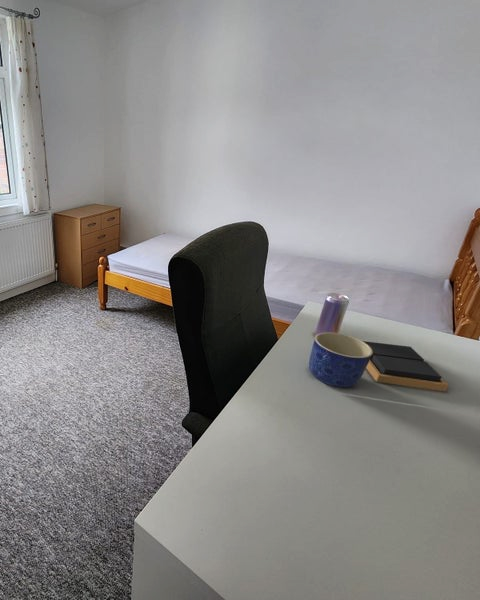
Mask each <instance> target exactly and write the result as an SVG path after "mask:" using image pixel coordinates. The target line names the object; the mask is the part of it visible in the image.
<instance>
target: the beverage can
mask: <svg viewBox="0 0 480 600" xmlns="http://www.w3.org/2000/svg"><path fill="white" fill-rule="evenodd" d="M349 304H350V298H349V297H348V296H346V295H344V294H342V293H341V294H340V293H328V294H327V295H326V297H325V299H324V302H323V305H322V308H321V312H320V316H319V318H318V321H317V325H316V328H315V330H314V336H316V335H318V334H320V333H325V332H332V333H340V330H341V327H342V324H343V322H344V319H345V315H346V313H347V309H348V307H349Z"/></svg>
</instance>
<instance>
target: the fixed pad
mask: <svg viewBox="0 0 480 600" xmlns="http://www.w3.org/2000/svg"><path fill="white" fill-rule="evenodd" d="M362 341H363V342H364V343H366V344H367V345H369V346H370V347H371V349H372V351H373V354H372V356H371V358H370V361H371V360H372V358H373V355H378V356H386V357H394V358H402V359H410V360H418V361H425V359H424V358H423V357H422V356H421V355H420V354H419V353H418V352H417V351H416V350H415V349H414V348H413V347H412V346H409V345H398V344H393V343H391V344H390V343H382V342H375V341H365V340H362Z"/></svg>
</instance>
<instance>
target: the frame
mask: <svg viewBox="0 0 480 600" xmlns="http://www.w3.org/2000/svg"><path fill="white" fill-rule="evenodd" d="M366 369H367V372H369V374H370V376H372V378H373V379H374V381H375V382H378V383H383V384H390V385H397V386H404V387H409V388H410V387H412V388H418V389H425V390H432V391H438V392H446V391H447V389H448V388H449V384H448V383H447V382H446V381H445V380H444V379H443V378H442V377H441V379H440V381H439V382H434V381H426V380H419V379H412V378H405V377H398V376H390V375H383V374H381V373H380V372H379V371H378V369H377V368H376V367H375V366H374V364H373V363H372V362H371V361H370V360H369V363H368V365H367V367H366Z"/></svg>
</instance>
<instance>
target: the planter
mask: <svg viewBox="0 0 480 600" xmlns="http://www.w3.org/2000/svg"><path fill="white" fill-rule="evenodd" d="M314 336H315V335H314ZM313 339H314V340H313V344H312V347H311V351H310V354H309V359H308V369H309V372H310V374H311V376H313V377H314V378H315V379H316V380H317V381H319V382H321V383H324V384H326V385H327V386H331V387H335V388H351V387H353V386H355V385H356V384H357V383H358V382H359V381H360V380H361V378H362V377H363V375H364V372H365V371H366V369H367V368H366V367H367V365H368V363H369V360H370V358H371V356H372V354H373V351H372V349H371V347H370V346H369V345H367V344H366V343H364V342H363V341H364V340H361V339H359V338H356V337H354V336H351V335H348V334H344V333H340V332H339V333H332V332H325V333H320V334H318V335H316V336H315V337H314V338H313Z"/></svg>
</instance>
